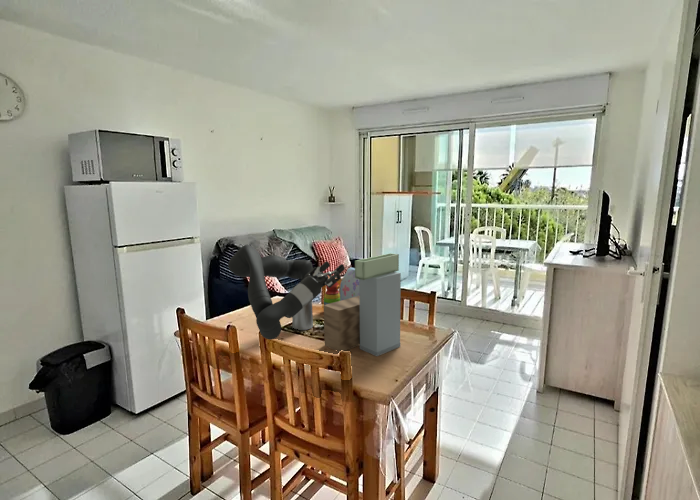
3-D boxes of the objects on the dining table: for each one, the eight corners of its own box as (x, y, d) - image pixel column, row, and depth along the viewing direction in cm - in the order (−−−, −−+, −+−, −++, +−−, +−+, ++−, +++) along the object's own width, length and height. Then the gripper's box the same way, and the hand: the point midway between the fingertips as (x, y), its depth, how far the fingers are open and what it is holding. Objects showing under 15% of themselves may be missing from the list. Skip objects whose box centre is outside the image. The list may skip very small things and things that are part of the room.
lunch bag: (392, 323, 192) (393, 271, 187) (369, 331, 180) (368, 276, 176) (361, 312, 208) (360, 264, 204) (337, 320, 197) (336, 269, 192)
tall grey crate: (376, 356, 154) (376, 278, 149) (359, 348, 162) (358, 274, 156) (400, 346, 163) (401, 273, 158) (383, 339, 171) (383, 269, 166)
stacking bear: (335, 316, 203) (334, 283, 200) (319, 313, 208) (318, 281, 205) (346, 310, 212) (345, 279, 209) (331, 307, 217) (330, 277, 214)
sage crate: (363, 280, 147) (363, 262, 146) (355, 278, 150) (354, 260, 149) (398, 270, 163) (398, 254, 162) (390, 269, 166) (390, 253, 165)
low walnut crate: (339, 352, 158) (338, 310, 155) (324, 345, 166) (323, 305, 163) (378, 337, 173) (378, 299, 170) (363, 331, 181) (363, 294, 178)
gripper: (297, 296, 140) (327, 270, 148) (321, 304, 129) (352, 275, 137) (288, 280, 136) (319, 254, 144) (312, 287, 126) (344, 258, 134)
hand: (335, 264), depth 141 cm, fingers open, 8 cm apart
